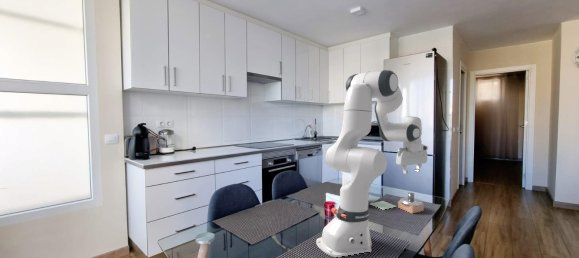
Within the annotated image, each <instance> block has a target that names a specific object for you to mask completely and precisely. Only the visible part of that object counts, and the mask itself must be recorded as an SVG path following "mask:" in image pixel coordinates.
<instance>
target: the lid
mask: <svg viewBox="0 0 579 258" xmlns="http://www.w3.org/2000/svg"><path fill="white" fill-rule="evenodd" d="M399 201H400V202H401V203H402V204H405V205H409V206H421V205H422V203H423V201H422V200H420V199H419V198H415V193H413V192H407V197H401V198H399Z"/></svg>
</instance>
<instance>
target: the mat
mask: <svg viewBox="0 0 579 258" xmlns="http://www.w3.org/2000/svg"><path fill="white" fill-rule="evenodd" d="M369 205H370V206H373V207H374V206H375V207H374V208H377V207H378V208H377V209H379V208H380V210H381V209H382V210H381V211H386V210H385V209H387V210H390V209H389V208H391V209H394V208H393V207H396V208H397V205H394V204H392V203H389V202H387V201H384V200H381V201H375V202H370V203H369Z"/></svg>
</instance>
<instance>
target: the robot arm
mask: <svg viewBox="0 0 579 258" xmlns="http://www.w3.org/2000/svg"><path fill="white" fill-rule="evenodd" d="M345 91H346V94H345V98H344V105H343V115H342V116H343V117H342V123H341V124H342V125H341V130H340V133H339V136H338V137H337V140H336V141H335V142H334V144H332V145H331V146H330V147H328V149H327V151H326V153H325V161H326V162H325V163H326V165H327V166H328V167H330V168H331V169H333V170H336V171H338V172H348V173H352V178H351V181H349V182H347V183H345V184H344V185H343V186H342V185H341V187H340V189H339V206H338V208H336V207H332V208H331V213H332V214H335V217H333V218H332V219H331V220H330V221H329V222H328V223H327V224H326V225H325V226H324V228H323V230H322V232H321V233H322V234H321V236H320V237H318V238H317V239H316V241H315V244H316V245H317V247H318V248H319V249H320V250H321V251H322V252H324V253H325V254H326V255H328V256H330V257H333V258H336V257H338V258H343V257H342V256H345V257H349V256H348V255H351V256H355V255H354V254H357V255H360V254H359V253H364V252H370V253H371V252H372V246H373V242H372V238H371V234H370V226H369V219H370V208H369V196H370V195H369V194H370V189H371V186H372V185H373V183H374V181H375V180H376V179H377V178H379V177H380V176H382V175H383V174H384V173H385V172H386V170H387V166H388V160H387V156H386V154H385V153H384V152H383V151H382V150H379V149H376V148H373V147H368V146H367V147H366V146H358V144H359V142H360V140H361V139H362V138H363V137H366V136H368V134H369V133H370V132H371V129H372V115H373V99H375V100H376V103H375V105H374V114H375V117H376V121H377V126H378V128H379V130H378V131H379V136H380V138H381V139H382V140H383V141H384V142H397V143H398V142H399V143H402V145H403V146H402V147H400V148H398V150H397V153H396V159H395V163H396V165H397V166H399V167H401V169H402V173H403V174H404V175H405V174H406V175H407V174H409V171H408V169H407V167H408V166H412V165H413V166H414V165H416V167H415V168H414V170H415V172H416V173H420V171H421V167H422V164H426V163H427V162H428V149H429V146H428V145H425V144H422V135H423V131H422V130H423V127H422V125H423V124H422V119H421V118H420V117H418V116H407V117H405V119H404V122H403V123H402V122H401V123H400V122H398V123H397V122H391V121H389V119H388V114H389V113H393V112H395V111H396V110H398V109H399V108H400V107H401V105H402V104H403V101H404V97H403V93H402V90H401V89H400V86H399V78H398V76H397V73H395V72H394V71H393V70H386V69H384V70H374V71H365V72H361V73H354V74H351V76H349V77H348V79H347V80H346V82H345ZM364 254H365V253H364Z"/></svg>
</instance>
